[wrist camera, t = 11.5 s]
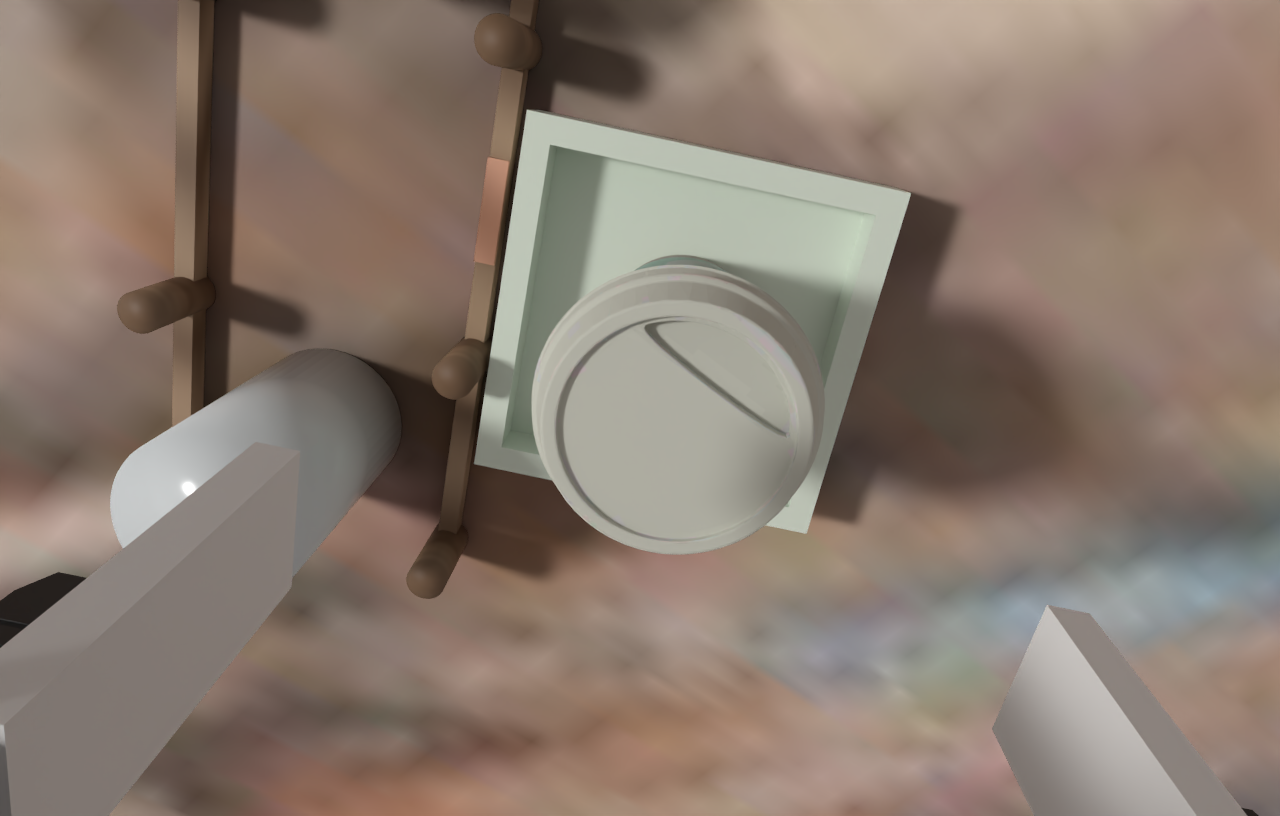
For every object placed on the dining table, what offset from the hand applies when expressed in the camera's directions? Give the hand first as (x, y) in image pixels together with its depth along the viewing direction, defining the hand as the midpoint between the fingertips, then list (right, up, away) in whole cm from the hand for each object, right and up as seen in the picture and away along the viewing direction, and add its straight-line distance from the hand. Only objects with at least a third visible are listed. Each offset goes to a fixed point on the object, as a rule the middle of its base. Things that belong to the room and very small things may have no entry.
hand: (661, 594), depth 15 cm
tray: (+1, +7, +20) cm, 21 cm away
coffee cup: (+1, +7, +20) cm, 21 cm away
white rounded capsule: (-14, +3, +22) cm, 26 cm away
